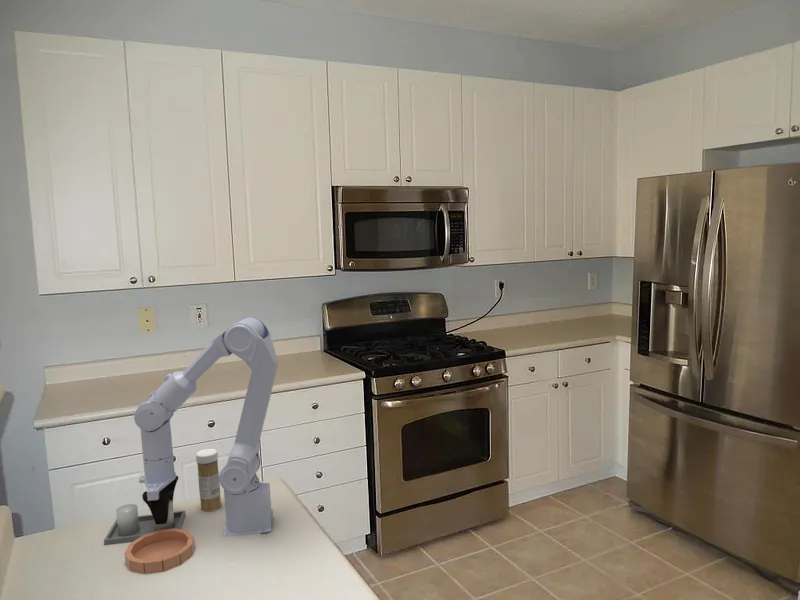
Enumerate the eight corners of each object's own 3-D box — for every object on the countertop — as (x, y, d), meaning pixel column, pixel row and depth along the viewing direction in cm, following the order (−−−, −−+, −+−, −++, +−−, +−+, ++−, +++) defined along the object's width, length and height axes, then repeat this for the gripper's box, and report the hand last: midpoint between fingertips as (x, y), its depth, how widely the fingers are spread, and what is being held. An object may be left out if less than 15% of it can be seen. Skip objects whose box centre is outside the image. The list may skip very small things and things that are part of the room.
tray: (185, 517, 129) (185, 510, 128) (178, 538, 120) (177, 531, 120) (117, 525, 126) (116, 518, 126) (104, 547, 117) (103, 540, 117)
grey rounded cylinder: (141, 525, 125) (139, 503, 124) (136, 535, 121) (134, 512, 120) (121, 527, 124) (119, 505, 123) (115, 537, 120) (113, 514, 119)
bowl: (198, 537, 120) (197, 525, 120) (188, 570, 108) (187, 557, 108) (135, 544, 118) (134, 532, 118) (119, 579, 106) (117, 566, 106)
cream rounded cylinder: (176, 520, 126) (174, 498, 125) (172, 530, 122) (170, 507, 121) (156, 523, 125) (154, 500, 124) (152, 532, 121) (150, 509, 121)
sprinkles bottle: (216, 502, 135) (212, 446, 133) (225, 509, 132) (220, 451, 130) (197, 509, 132) (192, 451, 131) (204, 516, 129) (200, 457, 127)
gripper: (145, 445, 128) (151, 504, 130) (128, 471, 114) (134, 538, 115) (180, 441, 129) (185, 500, 131) (166, 468, 115) (172, 533, 117)
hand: (163, 517), depth 123 cm, fingers closed on cream rounded cylinder, 4 cm apart
